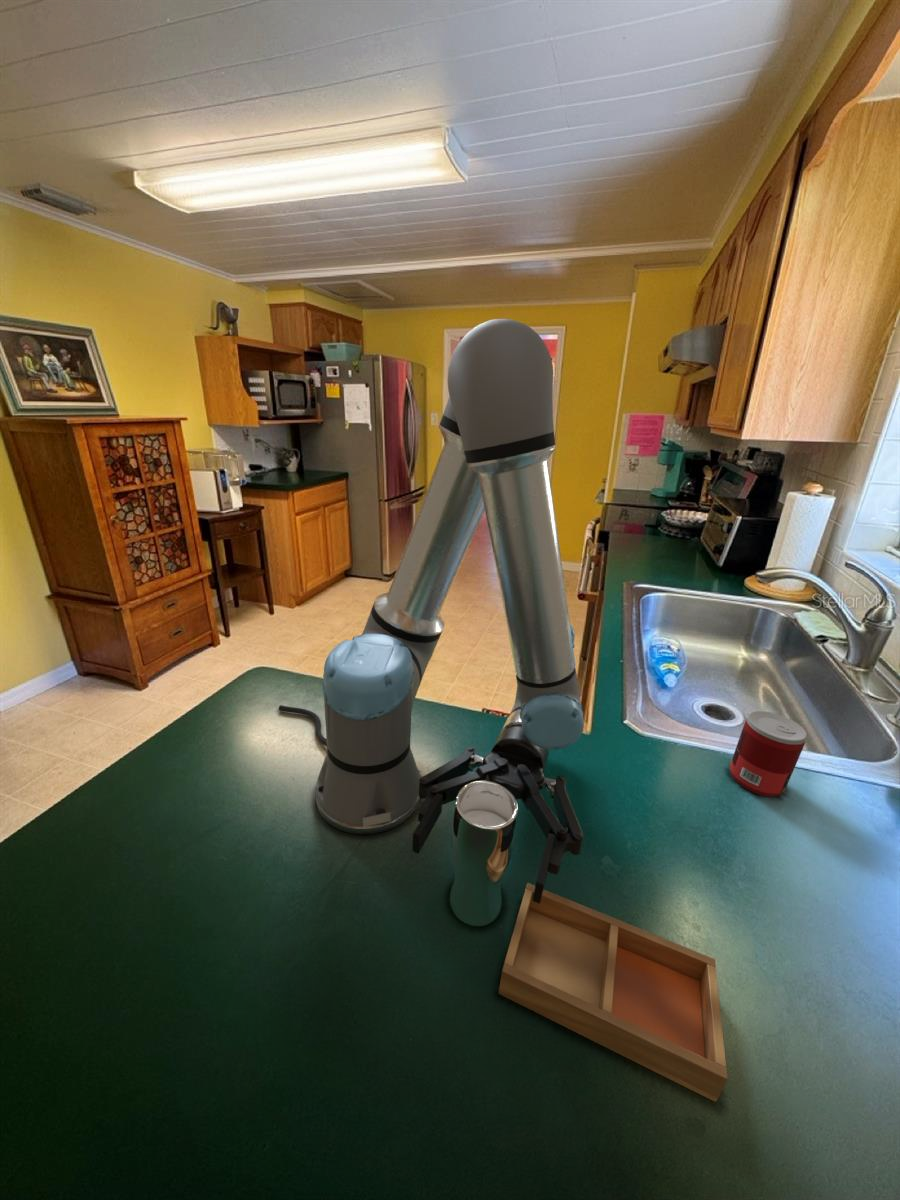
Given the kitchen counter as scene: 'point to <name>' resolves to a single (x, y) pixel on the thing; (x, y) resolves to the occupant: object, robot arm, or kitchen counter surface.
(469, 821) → the metal tumbler cup
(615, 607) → the kitchen counter surface
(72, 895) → the kitchen counter surface
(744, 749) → the canned food
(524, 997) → the tray
